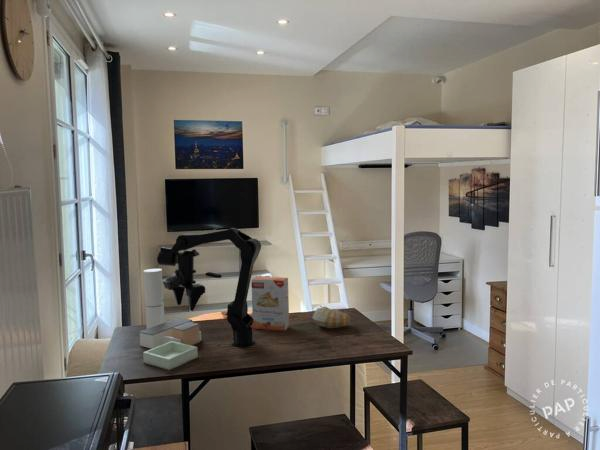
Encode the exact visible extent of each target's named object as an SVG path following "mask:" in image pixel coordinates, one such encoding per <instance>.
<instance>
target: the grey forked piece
mask: <svg viewBox="0 0 600 450" xmlns="http://www.w3.org/2000/svg"><path fill="white" fill-rule="evenodd" d="M187 322H192V323H194V322H193V319H190V318H186V317H177V318H174V319H171V320H169V321H165V323H163V324H160V325H157V326H154V327H151V328H148V329H147V328H146V329H143V330H140V331H139V332H138V333H139V346H140V347H145V348H147V349H153V348H155V347H158V346H160V345H163V344H165V343H168V342H171V341H174V342H178V343H181V339H178V338H174V337H173V327H176V326H179V325H182V324H184V323H187ZM199 332H200V342H201V341H202V331H201V330H199Z"/></svg>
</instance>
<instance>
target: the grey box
mask: <svg viewBox="0 0 600 450" xmlns="http://www.w3.org/2000/svg"><path fill="white" fill-rule="evenodd" d="M192 322H193V321H192ZM192 322H187V323H184V324H182V325H179V326H176V327H173V337H174V338H178V339H181V343H182V344H187V345H191V346H195V345H197V344H198V343H200V342H201V341H200V332H199V331H200V323H195V322H193V323H192Z"/></svg>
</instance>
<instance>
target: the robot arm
mask: <svg viewBox="0 0 600 450" xmlns="http://www.w3.org/2000/svg"><path fill="white" fill-rule="evenodd" d="M227 240H228V241H230V242H231V243H232V244H233V245H234V246H235V247H236V248H238V249H239V250H240V255H239V257H240V261H241V266H240V270H239V274H238V275H239V276H238V281H237V284H236V285H237V286H236V290H235V294H234V295H235V297H234V299H233V301H231V302H230V303H228V304H227V307H226V308H227V311H226V313H225V316H226V321H227V322H228V323H229V325H230V327H231V329H232V331H233V333H232V335H233V338H232V339H233V342H231V346H235V347H238V348H244V349H245V348H247V347H249V346H251V345H253V344H255V343H256V340H253V327H251V326H253V321H254V319H253V316H252V315H250V314H249V313H248V308H249V306H248V301H247V299H248V295H249V294H248V293H249V289H250V285H251V279H252V274H253V269H254V265H255V263H256V261H257V259H258V258H259V255H260V253H261V250H262V244H261V242H260V240H258V239H257V238H252V237H251V236H250V235H249V234H246V233H244V232H242V231H240V230H239V229H238V228H236V227H231V228H228V229H223V230H217V231H212V232H205V233H198V232H195V233H194V232H187V233H183V234H180V235H178V236H177V237H176V239H175V244H173V246H172V247H167V246H163V247H160V249H159V252H158V254H157V257H156V259H157V260H156V261H157V264H158V265H159V266H170V267H175V266H176V265H177V269H175V270H174V274H172V275H170V276H167V277H165V278H163V279H162V281H163V287H164V289H166V290H168V291H172V292H173V295H174V298H175V300H176V304H177V306H181V305H182V302H183V297H184V293H185V295H186V296H187V297H188V304H189V311H190V312H192V311H194V309H196V305H197V303H198V301H199V300H200V298H202V297H201V296H203V295H204V294H205V293H206V287H205V286H204V285H203V284H200V283H197V282H196V280H195V279H194V275H195V273H197V271H196V269H195V268H194V265H195V264H194V263H195V262H194V260H195V257H198V256H200V253H199V252H198V251H197V250H196V249H195V247H197V246H200V245H201V246H202V245H204V244H211V243H217V242H222V241H227ZM193 248H194V249H193ZM189 249H192V250H189ZM180 251H181V252H180ZM182 251H183V252H182Z"/></svg>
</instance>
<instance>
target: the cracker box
mask: <svg viewBox="0 0 600 450" xmlns="http://www.w3.org/2000/svg"><path fill="white" fill-rule="evenodd" d="M250 282H251V309H252V310H251V311H252V315H251V317H252V318H253V319H254V321H253V324H252V330H253V329H254V330H255V329H257V330H267V331H269V330H270V331H279V332H285V331H286V330H288V328H289V327H290V304H289V299H290V298H289V277H281V276H280V277H279V276H277V277H276V276H259V275H258V276H257V275H256V276H255V277H253V278H251V280H250Z"/></svg>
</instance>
